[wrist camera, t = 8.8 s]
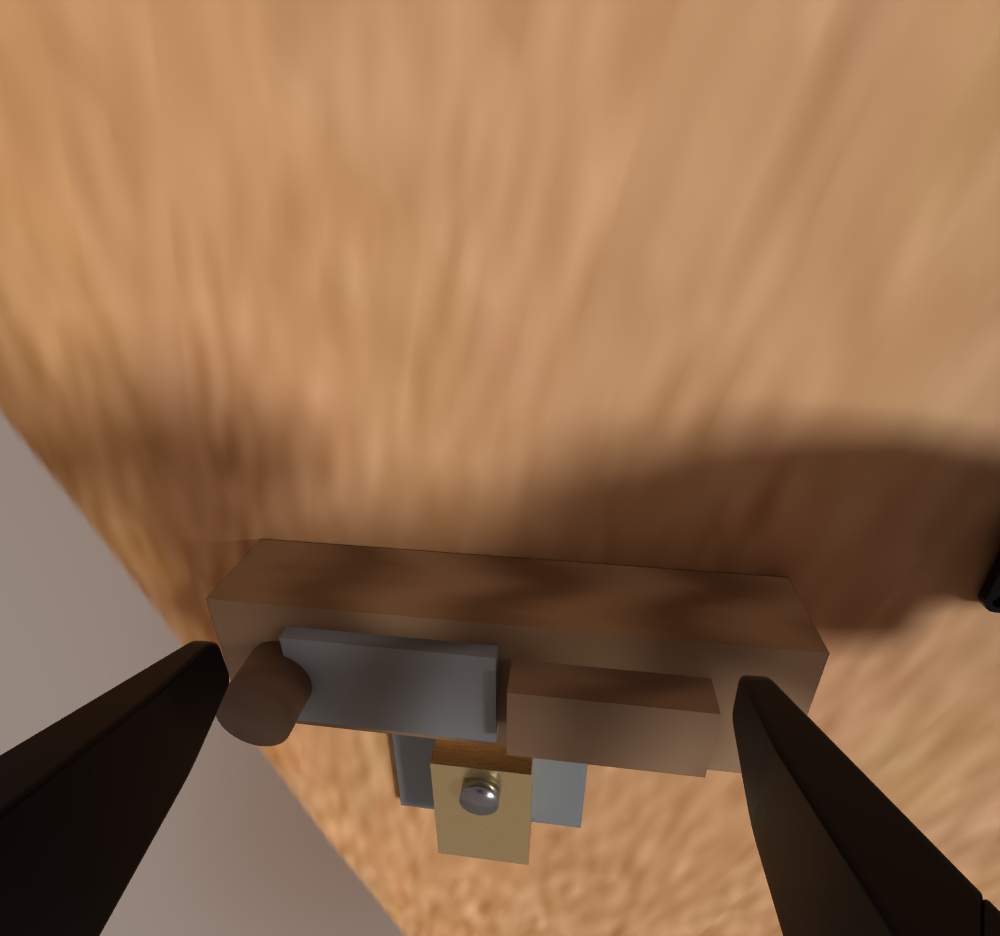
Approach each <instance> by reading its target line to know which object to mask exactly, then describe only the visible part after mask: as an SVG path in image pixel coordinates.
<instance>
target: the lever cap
mask: <svg viewBox="0 0 1000 936" xmlns="http://www.w3.org/2000/svg"><path fill="white" fill-rule="evenodd" d="M430 768H431V778H432V789H433V799H434V809H435V820H436V830H437V841H438V851H439V853H443V854H451V855H458V856H466V857H473V858H481V859H488V860H495V861H503V862H510V863H518V864H525V865H528V864H529V850H530V837H531V823H532V802H533V772H534V758H529V757H520V756H512V755H507V747H503V746H495V745H486V744H477V743H468V742H459V741H450V740H441V739H436V742H435V746H434V750H433V754H432V758H431V762H430Z"/></svg>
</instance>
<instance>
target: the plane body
mask: <svg viewBox="0 0 1000 936" xmlns="http://www.w3.org/2000/svg"><path fill="white" fill-rule="evenodd" d="M206 600H207V604H208V607H209V610H210V613H211V617H212V620H213V623H214V627H215V630H216V633H217V636H218V640H219V643H220V646H221V649H222V653H223V656H224V659H225V662H226V666H227V669H228V672H229V675H230V679H231V682H230V683H229V685H228V688H227V691H226V693H225V695H224V698H223V700H222V702H221V704H220V707H219V709H218V711H217V713H216V717H217V719H218V721H219V722H220V724H221V725H222V726H223V727H224V729H226V730H227V731H228V732H229V733H230V734H232V735H233V736H235V737H236V738H238V739H240V740H242V741H244V742H247V743H250V744H253V745H258V746H274V745H278V744H280V743H282V742H284V741H285V740H286V739H287V738H288V736H289V735H290V733H291V731H292V729H293V727H294V725H295V723H299V724H308V725H316V726H325V727H334V728H343V729H352V730H361V731H370V732H379V733H388V734H397V735H406V736H414V737H423V738H432V739H441V740H450V741H459V742H468V743H477V744H486V745H495V746H503V747H507V755H512V756H520V757H529V758H538V759H547V760H555V761H564V762H573V763H582V764H591V765H599V766H608V767H617V768H626V769H634V770H643V771H652V772H661V773H670V774H678V775H687V776H696V777H705V774H706V771H707V769H708V770H717V771H726V772H735V773H742V772H741V767H740V761H739V756H738V750H737V745H736V739H735V734H734V728H733V719H732V714H733V707H734V702H735V697H736V692H737V687H738V682H739V680H740V678H741V677H742V676H744V675H751V676H765V677H768V678H770V679H771V680H772V681H774V682H775V684H776V685H777V686H778V687H779V688H780V689H781V690H782V691H783V692H784V693H785V694H786V695H787V696H788V697H789V698H790V699H791V700H792V701H793V702H794V703H795V704H796V705H797V706H798V707H799V708H800V709H801V710H802V711H803V712H804V713H805V714H806V715H807V714H808V712H809V709H810V706H811V703H812V701H813V698H814V695H815V692H816V689H817V687H818V684H819V681H820V678H821V676H822V673H823V670H824V667H825V664H826V662H827V659H828V656H829V651H828V650H827V648H826V646H825V644H824V642H823V641H822V639H821V637H820V635H819V633H818V631H817V630H816V628H815V626H814V624H813V622H812V621H811V619H810V617H809V615H808V613H807V611H806V610H805V608H804V606H803V604H802V602H801V600H800V599H799V597H798V595H797V593H796V591H795V590H794V588H793V586H792V584H791V582H790V580H789V579H788V578H785V577H772V576H758V575H744V574H731V573H717V572H703V571H690V570H676V569H662V568H649V567H635V566H621V565H608V564H594V563H581V562H567V561H553V560H540V559H526V558H512V557H499V556H485V555H471V554H458V553H444V552H430V551H417V550H403V549H389V548H376V547H362V546H348V545H335V544H321V543H308V542H294V541H280V540H267V539H260V540H259V542H258V543H257V544H256V545H255V546H254V547H253V548H252V549H251V550H250V551H249V552H248V554H247V555H246V556H245V557H244V558H243V559H242V560H241V561H240V562H239V563H238V565H237V566H236V567H235V568H234V569H233V570H232V571H231V572H230V573H229V574H228V575H227V577H226V578H225V579H224V580H223V581H222V582H221V583H220V584H219V585H218V586H217V587H216V589H215V590H214V591H213V592H212V593H211V594H210V595H209V596H208V597H207V598H206Z"/></svg>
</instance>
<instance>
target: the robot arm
mask: <svg viewBox="0 0 1000 936" xmlns="http://www.w3.org/2000/svg"><path fill="white" fill-rule="evenodd" d="M998 597H999V598H998ZM995 598H997V599H995ZM994 599H995V600H994ZM978 600H979V602H980V603H981V604H982V605H983V606H984V607H985V608H986V609H988V610H989V611H991V612H996V613H1000V551H999V554H998V556H997V558H996V560H995V562H994V564H993V566H992V568H991V570H990V572H989V574H988V576H987V578H986V580H985V582H984V584H983V586H982V588H981V590H980V592H979V595H978ZM228 685H229V673H228V670H227V667H226V664H225V661H224V659H223V656H222V653H221V650H220V648H219V646H218V645H217V644H216V643H215V642H208V641H193V642H190V643H188V644H186V645H185V646H183V647H181V648H180V649H178V650H176V651H175V652H173V653H171V654H170V655H168V656H166V657H165V658H163V659H161V660H160V661H158V662H156V663H154V664H153V665H151V666H150V667H148V668H146V669H144V670H143V671H141V672H139V673H138V674H136V675H134V676H133V677H131V678H130V679H128V680H126V681H124V682H123V683H121V684H119V685H118V686H116V687H115V688H113V689H111V690H109V691H108V692H106V693H104V694H103V695H101V696H99V697H98V698H96V699H94V700H93V701H91V702H89V703H87V704H86V705H84V706H82V707H81V708H79V709H77V710H76V711H74V712H72V713H71V714H69V715H67V716H66V717H64V718H62V719H61V720H59V721H58V722H56V723H54V724H52V725H51V726H49V727H47V728H46V729H44V730H42V731H40V732H39V733H37V734H35V735H34V736H32V737H31V738H29V739H27V740H25V741H24V742H22V743H20V744H19V745H17V746H16V747H14V748H12V749H10V750H9V751H7V752H5V753H4V754H2V755H0V936H100V934H101V932H102V930H103V928H104V926H105V925H106V923H107V921H108V919H109V917H110V916H111V914H112V912H113V910H114V909H115V907H116V905H117V903H118V901H119V900H120V898H121V896H122V894H123V892H124V890H125V889H126V887H127V885H128V883H129V882H130V880H131V878H132V876H133V874H134V873H135V871H136V869H137V867H138V865H139V863H140V861H141V860H142V858H143V856H144V855H145V853H146V851H147V849H148V847H149V846H150V844H151V842H152V840H153V838H154V836H155V835H156V833H157V831H158V829H159V828H160V826H161V824H162V822H163V820H164V819H165V817H166V815H167V813H168V811H169V809H170V808H171V806H172V804H173V803H174V801H175V799H176V797H177V795H178V794H179V791H180V790H181V788H182V786H183V784H184V782H185V781H186V779H187V777H188V775H189V773H190V771H191V769H192V767H193V764H194V762H195V761H196V758H197V756H198V754H199V752H200V749H201V747H202V745H203V743H204V740H205V738H206V736H207V734H208V731H209V729H210V727H211V725H212V722H213V720H214V718H215V716H216V713H217V711H218V709H219V707H220V704H221V702H222V700H223V698H224V695H225V693H226V691H227V688H228ZM732 719H733V728H734V734H735V739H736V745H737V750H738V756H739V761H740V767H741V772H742V778H743V783H744V789H745V794H746V799H747V805H748V810H749V815H750V820H751V825H752V829H753V833H754V837H755V841H756V845H757V848H758V851H759V855H760V858H761V862H762V865H763V869H764V872H765V875H766V879H767V882H768V886H769V889H770V892H771V896H772V899H773V903H774V906H775V910H776V913H777V916H778V920H779V923H780V927H781V930H782V933H783V936H1000V911H999V910H998V909H997V908H996V907H995V906H994V905H993V904H992V903H991V902H990V901H988V900H982V899H983V898H982V894H981V892H980V891H979V890H978V889H977V888H976V887H975V886H974V885H973V884H972V883H971V882H970V881H969V880H968V879H967V878H966V877H965V876H964V875H963V874H962V873H961V872H960V871H959V870H958V869H957V868H956V867H955V866H954V865H953V864H952V863H951V862H950V861H949V860H948V859H947V858H946V857H945V856H944V855H943V854H942V853H941V852H940V851H939V850H938V849H937V847H936V846H935V845H934V844H933V843H932V842H931V841H930V840H929V839H928V838H927V837H926V836H925V835H924V834H923V833H922V832H921V831H920V830H919V829H918V828H917V827H916V826H915V825H914V824H913V823H912V822H911V821H910V820H909V819H908V818H907V817H906V816H905V815H904V814H903V813H902V812H901V811H900V810H899V809H898V808H897V807H896V806H895V805H894V804H893V803H892V802H891V801H890V800H889V799H888V798H887V797H886V796H885V795H884V794H883V792H882V791H881V790H880V789H879V788H878V787H877V786H876V785H875V784H874V783H873V782H872V781H871V780H870V779H869V778H868V777H867V776H866V775H865V774H864V773H863V772H862V771H861V770H860V769H859V768H858V767H857V766H856V765H855V764H854V763H853V762H852V761H851V760H850V759H849V758H848V757H847V756H846V755H845V754H844V753H843V752H842V751H841V750H840V749H839V748H838V747H837V746H836V745H835V744H834V743H833V742H832V741H831V740H830V739H829V737H828V736H827V735H826V734H825V733H824V732H823V731H822V730H821V729H820V728H819V727H818V726H817V725H816V724H815V723H814V722H813V721H812V720H811V719H810V718H809V717H808V716H807V715H806V714H805V713H804V712H803V711H802V710H801V709H800V708H799V707H798V706H797V705H796V704H795V703H794V702H793V701H792V700H791V699H790V698H789V697H788V696H787V695H786V694H785V693H784V692H783V691H782V690H781V689H780V688H779V687H778V686H777V685H776V684H775V682H774V681H772V680H771V679H770V678H768V677H765V676H751V675H744V676H742V677H741V678H740V680H739V682H738V687H737V692H736V697H735V702H734V707H733V714H732Z"/></svg>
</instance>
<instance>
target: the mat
mask: <svg viewBox="0 0 1000 936" xmlns="http://www.w3.org/2000/svg"><path fill="white" fill-rule="evenodd" d="M392 740H393V747H394V755H395V762H396V770H397V777H398V785H399V792H400V800H401V805H405V806H413V807H421V808H429V809H434V799H433V789H432V778H431V768H430V762H431V758H432V754H433V750H434V746H435V742H436V739H432V738H423V737H414V736H406V735H397V734H392ZM586 772H587V764H582V763H573V762H564V761H555V760H547V759H538V758H534V772H533V802H532V822H539V823H547V824H555V825H563V826H571V827H578V828H581V819H582V809H583V800H584V791H585V781H586Z"/></svg>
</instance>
